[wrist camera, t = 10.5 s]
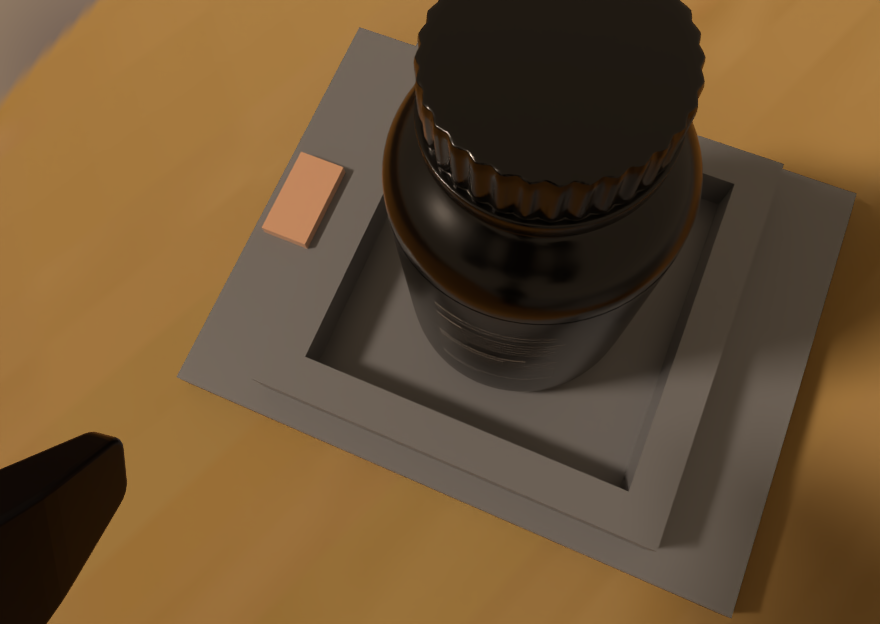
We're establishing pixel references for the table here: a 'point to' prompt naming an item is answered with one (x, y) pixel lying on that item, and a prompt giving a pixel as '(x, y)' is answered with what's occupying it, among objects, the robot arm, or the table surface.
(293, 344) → the grey recessed tray
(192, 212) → the table surface
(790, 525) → the table surface
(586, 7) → the supplement bottle
